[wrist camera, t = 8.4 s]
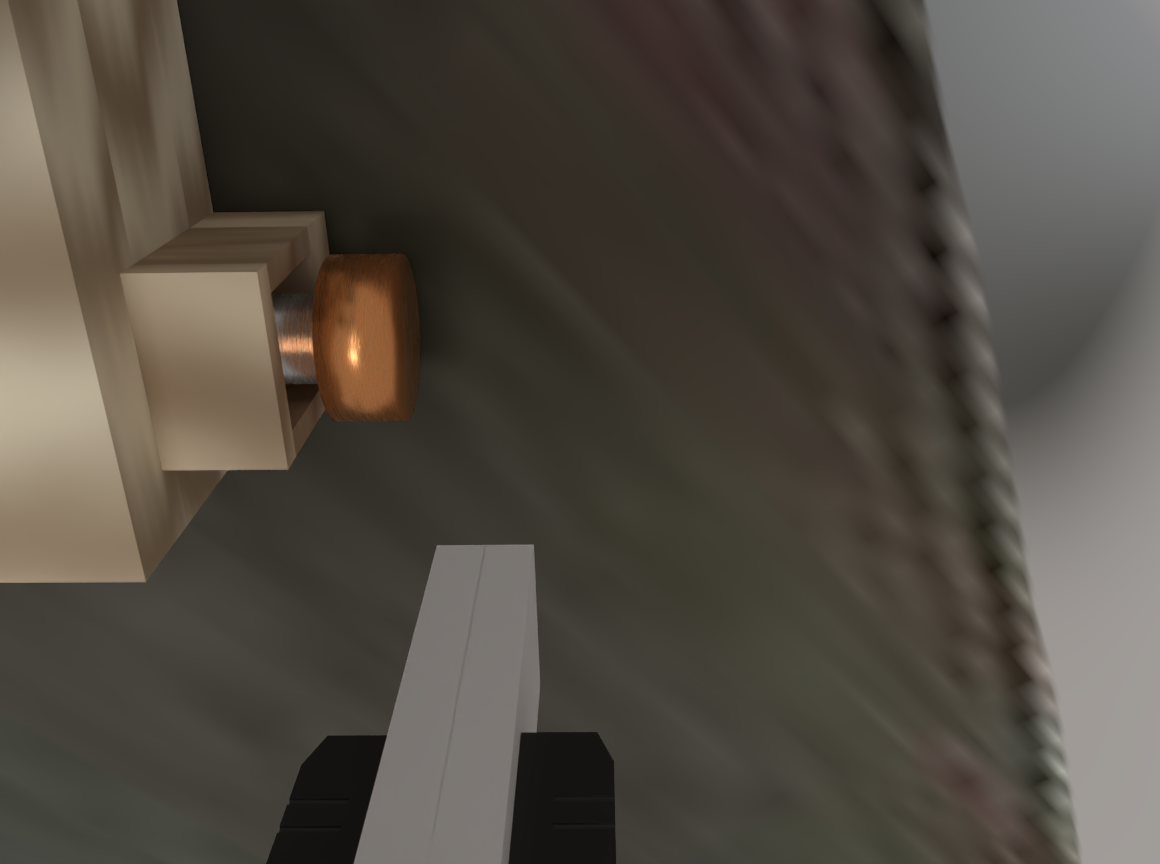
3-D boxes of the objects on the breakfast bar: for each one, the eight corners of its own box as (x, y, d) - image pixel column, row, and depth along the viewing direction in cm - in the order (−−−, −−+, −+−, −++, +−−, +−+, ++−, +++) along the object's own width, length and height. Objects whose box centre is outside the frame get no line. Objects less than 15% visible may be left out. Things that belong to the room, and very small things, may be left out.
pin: (-139, 242, 31) (-261, 288, 26) (412, 235, 30) (380, 281, 26) (-92, 388, 33) (-198, 453, 28) (425, 383, 32) (397, 449, 28)
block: (-213, -155, 28) (-661, -218, 18) (276, -167, 27) (95, -237, 17) (-32, 439, 35) (-276, 623, 25) (352, 436, 35) (255, 622, 25)
